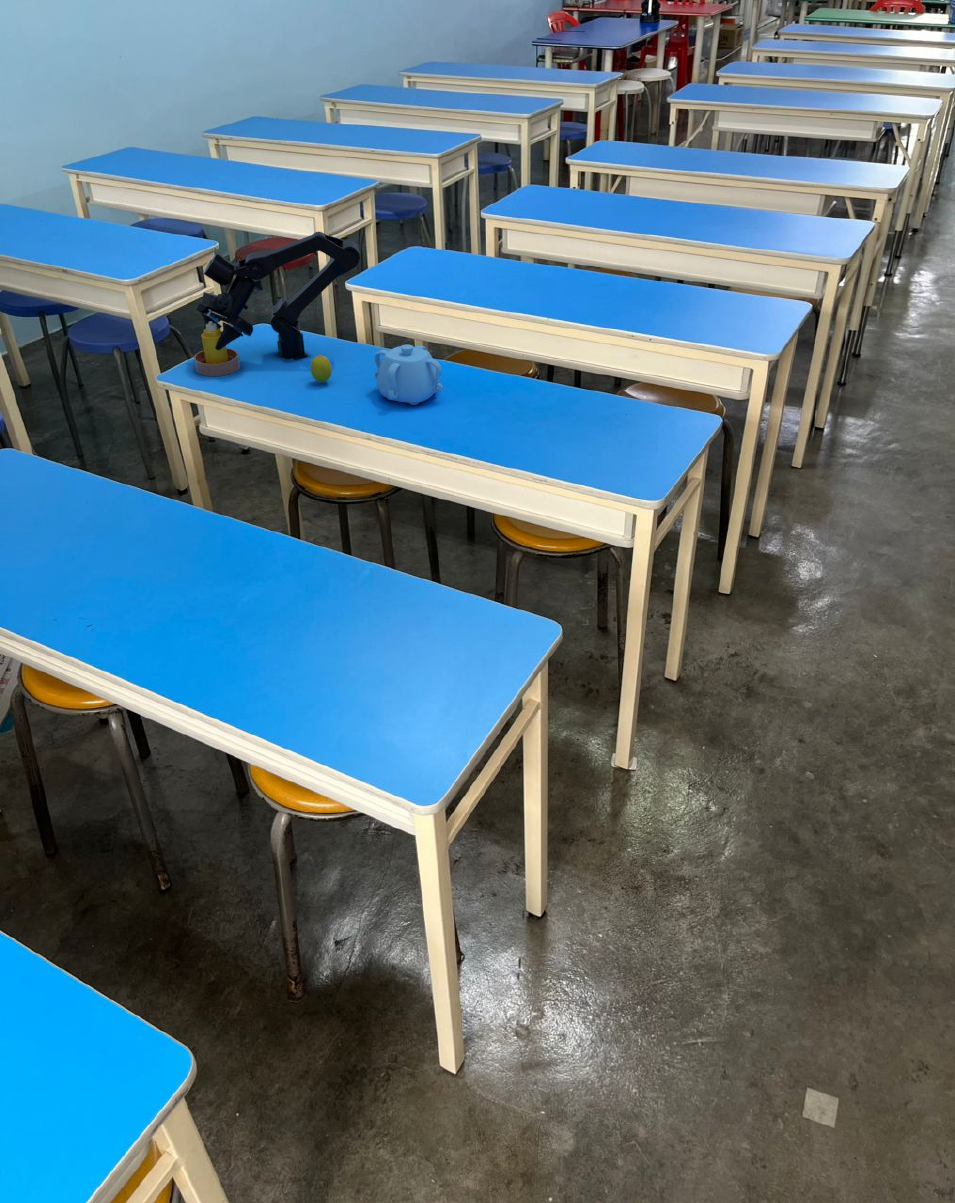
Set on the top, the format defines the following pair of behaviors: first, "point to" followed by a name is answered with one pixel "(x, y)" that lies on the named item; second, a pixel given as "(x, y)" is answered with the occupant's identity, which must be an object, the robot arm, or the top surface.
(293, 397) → the top surface
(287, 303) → the robot arm
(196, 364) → the bowl
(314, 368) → the lemon
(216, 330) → the mustard bottle
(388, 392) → the decorative pot
